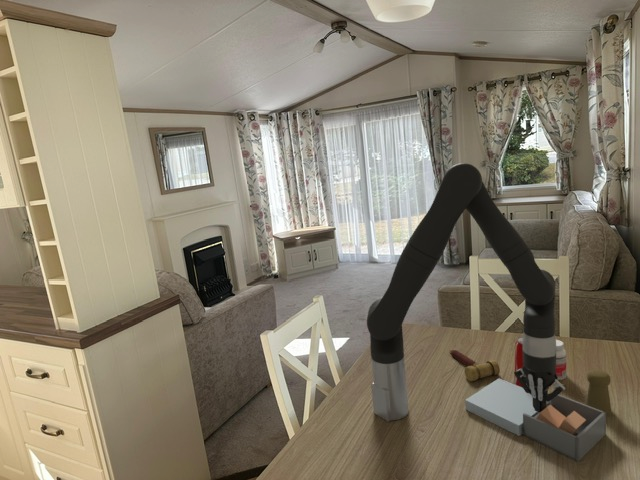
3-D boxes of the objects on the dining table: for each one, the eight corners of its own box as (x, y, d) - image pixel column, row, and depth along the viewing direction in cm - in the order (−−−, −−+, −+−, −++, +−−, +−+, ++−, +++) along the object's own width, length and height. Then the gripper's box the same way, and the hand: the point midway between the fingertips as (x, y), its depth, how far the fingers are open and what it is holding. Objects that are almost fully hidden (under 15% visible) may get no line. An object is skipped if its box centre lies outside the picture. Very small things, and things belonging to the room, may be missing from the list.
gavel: (437, 347, 154) (461, 341, 156) (438, 359, 154) (463, 353, 157) (471, 370, 133) (499, 362, 136) (473, 384, 134) (500, 376, 136)
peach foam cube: (553, 435, 107) (558, 428, 105) (535, 420, 110) (539, 412, 108) (563, 426, 109) (568, 419, 108) (545, 411, 113) (550, 404, 111)
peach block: (555, 432, 106) (567, 442, 104) (564, 419, 103) (576, 429, 101) (565, 423, 109) (577, 432, 107) (574, 410, 106) (586, 419, 104)
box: (577, 462, 98) (577, 438, 97) (523, 435, 109) (522, 414, 108) (605, 434, 106) (606, 412, 105) (552, 411, 116) (552, 391, 115)
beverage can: (517, 378, 134) (516, 333, 131) (540, 383, 130) (539, 337, 127) (511, 387, 129) (510, 341, 126) (535, 393, 125) (534, 345, 122)
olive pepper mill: (599, 418, 112) (599, 380, 109) (579, 406, 117) (579, 369, 115) (617, 412, 113) (618, 374, 111) (597, 400, 119) (597, 364, 117)
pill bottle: (541, 370, 137) (540, 338, 135) (562, 370, 135) (562, 337, 133) (547, 380, 131) (546, 347, 129) (569, 380, 129) (569, 347, 127)
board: (519, 436, 109) (519, 425, 108) (465, 409, 122) (465, 399, 121) (552, 409, 117) (552, 399, 117) (499, 387, 130) (498, 378, 130)
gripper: (506, 346, 111) (507, 405, 115) (558, 363, 101) (558, 428, 104) (522, 336, 115) (523, 394, 119) (574, 352, 105) (573, 415, 108)
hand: (539, 410), depth 112 cm, fingers closed
